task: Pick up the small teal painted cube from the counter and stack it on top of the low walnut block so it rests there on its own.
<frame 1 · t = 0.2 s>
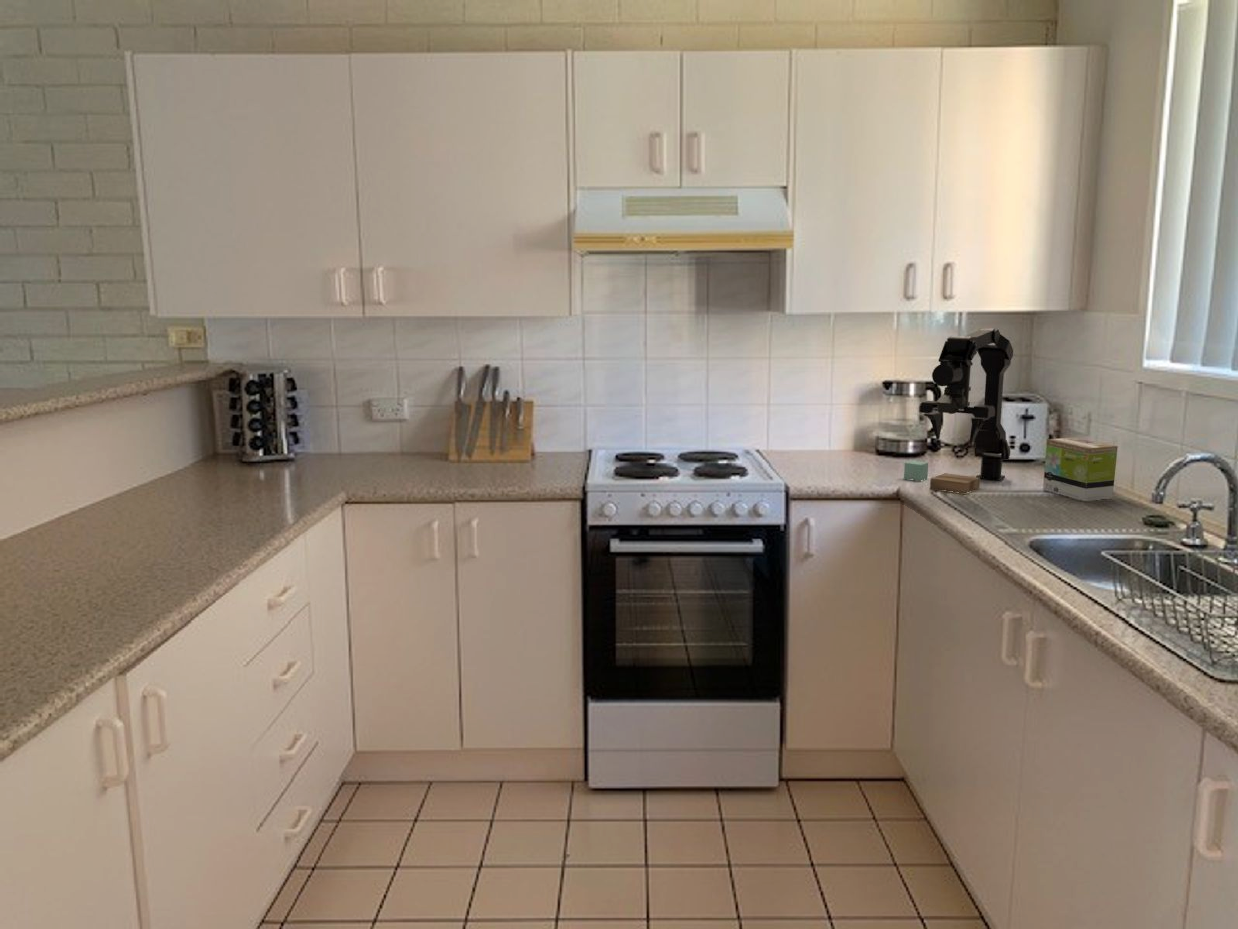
hand: (954, 440, 250), 14 cm above the worktop, tool pointing down, fingers open, 9 cm apart
tea box: (1076, 495, 250), on the worktop
teal cube: (915, 479, 271), on the worktop
walnut block: (954, 490, 258), on the worktop
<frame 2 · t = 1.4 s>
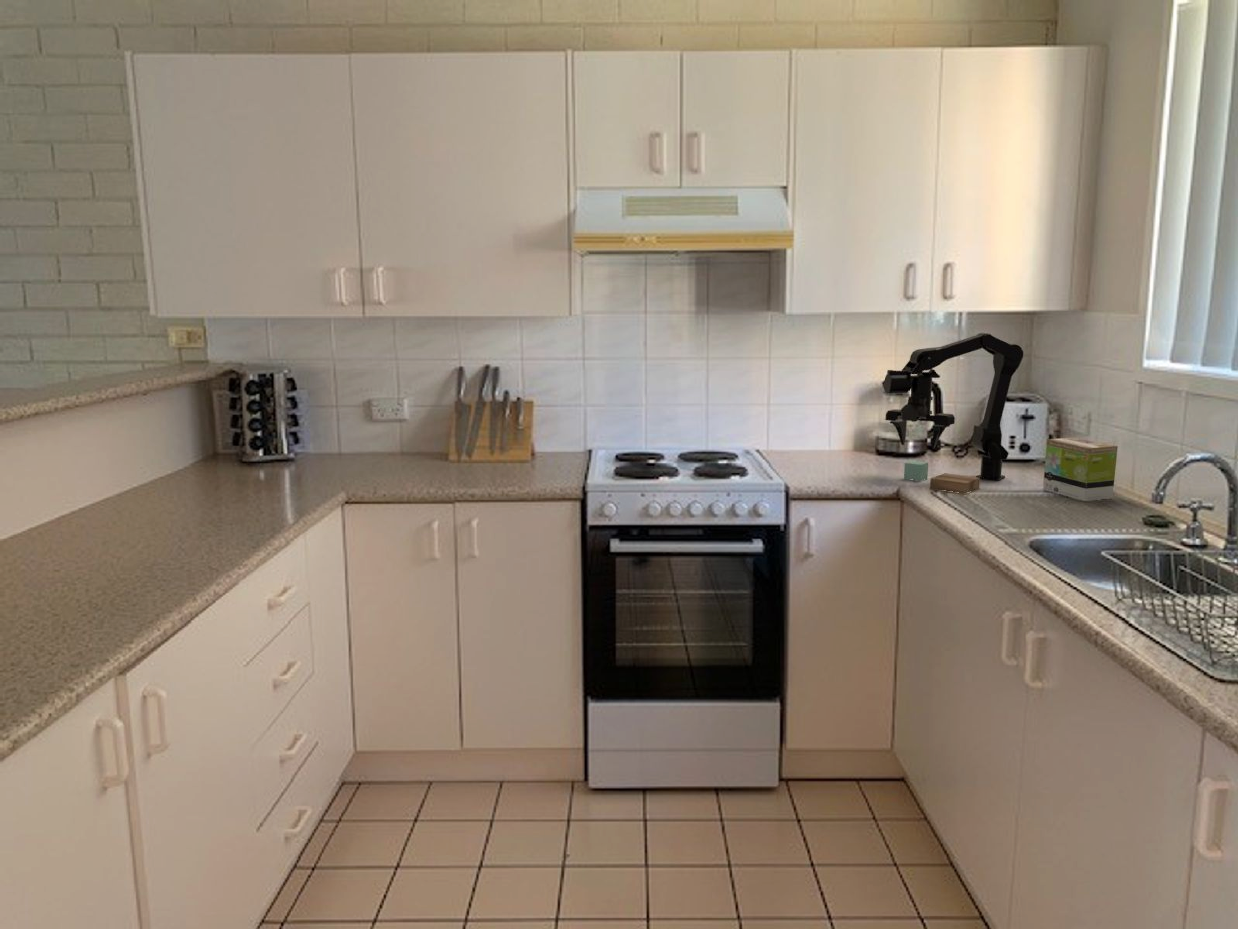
hand: (917, 446, 269), 10 cm above the worktop, tool pointing down, fingers open, 9 cm apart
nothing on the worktop moved.
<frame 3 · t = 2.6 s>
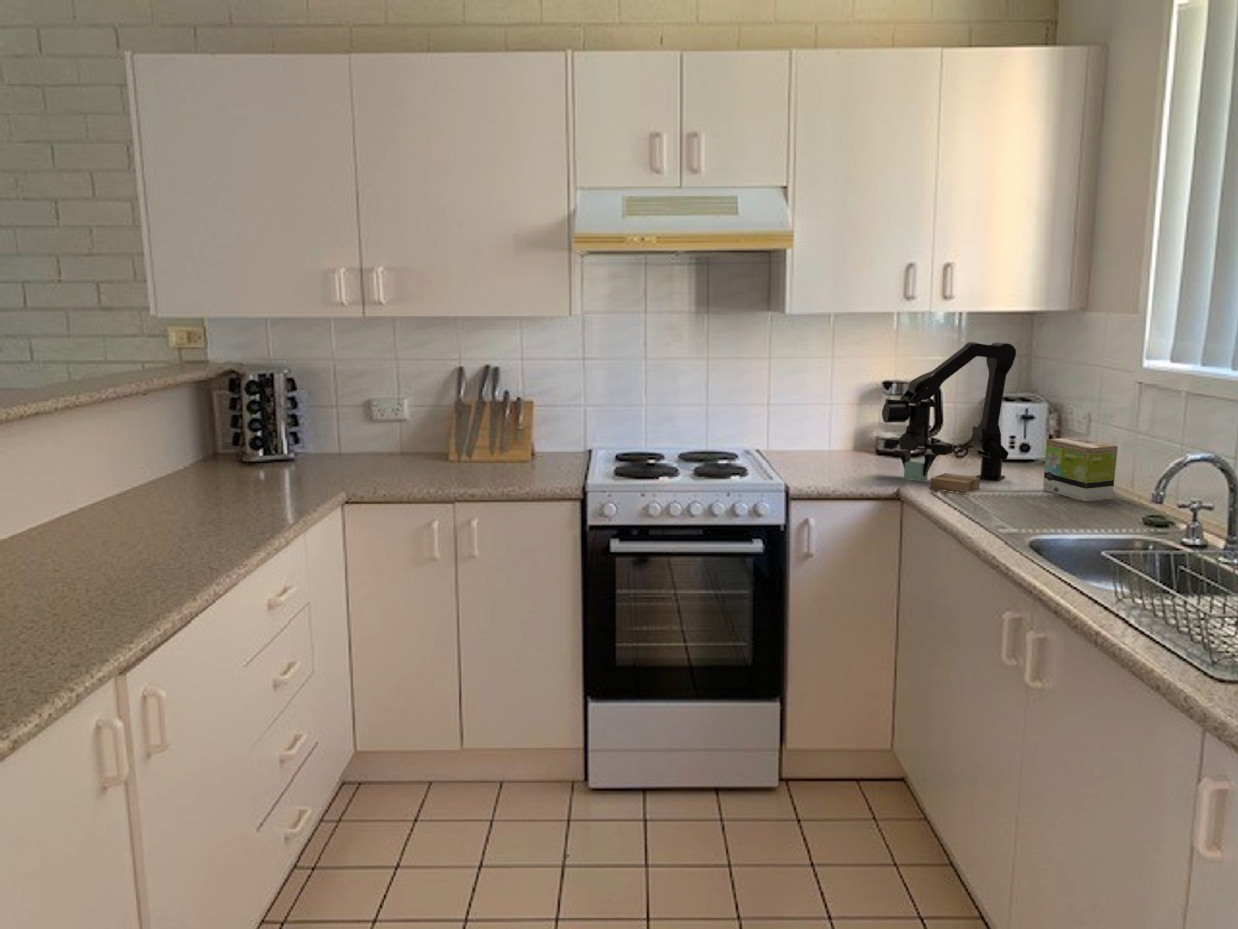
hand: (915, 474, 271), 1 cm above the worktop, tool pointing down, fingers closed on teal cube, 5 cm apart
teal cube: (915, 479, 271), on the worktop, touching gripper
everything else where it was.
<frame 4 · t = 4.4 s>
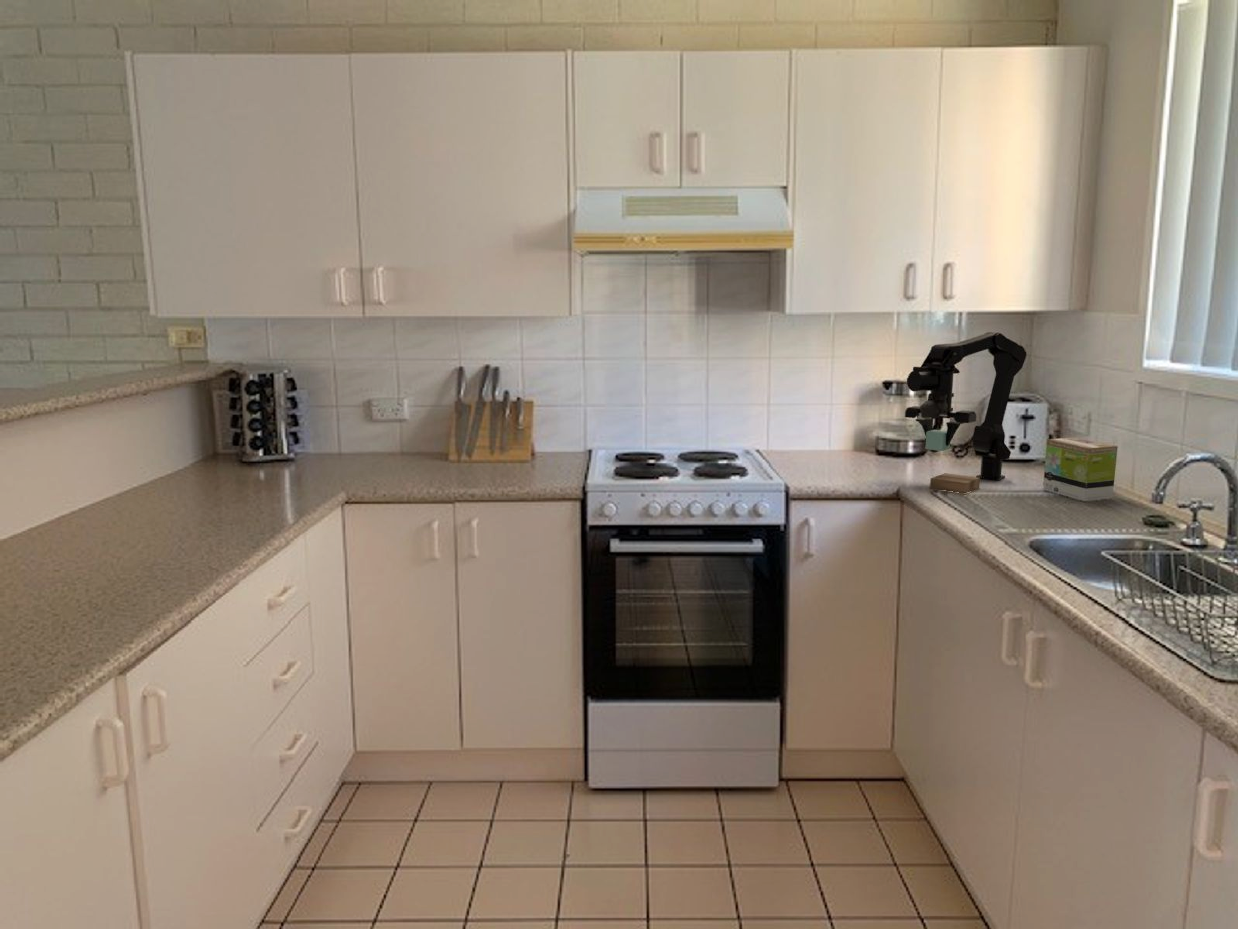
hand: (938, 444, 262), 11 cm above the worktop, tool pointing down, fingers closed on teal cube, 5 cm apart
teal cube: (937, 448, 262), point 10 cm above the worktop, touching gripper
everything else where it was.
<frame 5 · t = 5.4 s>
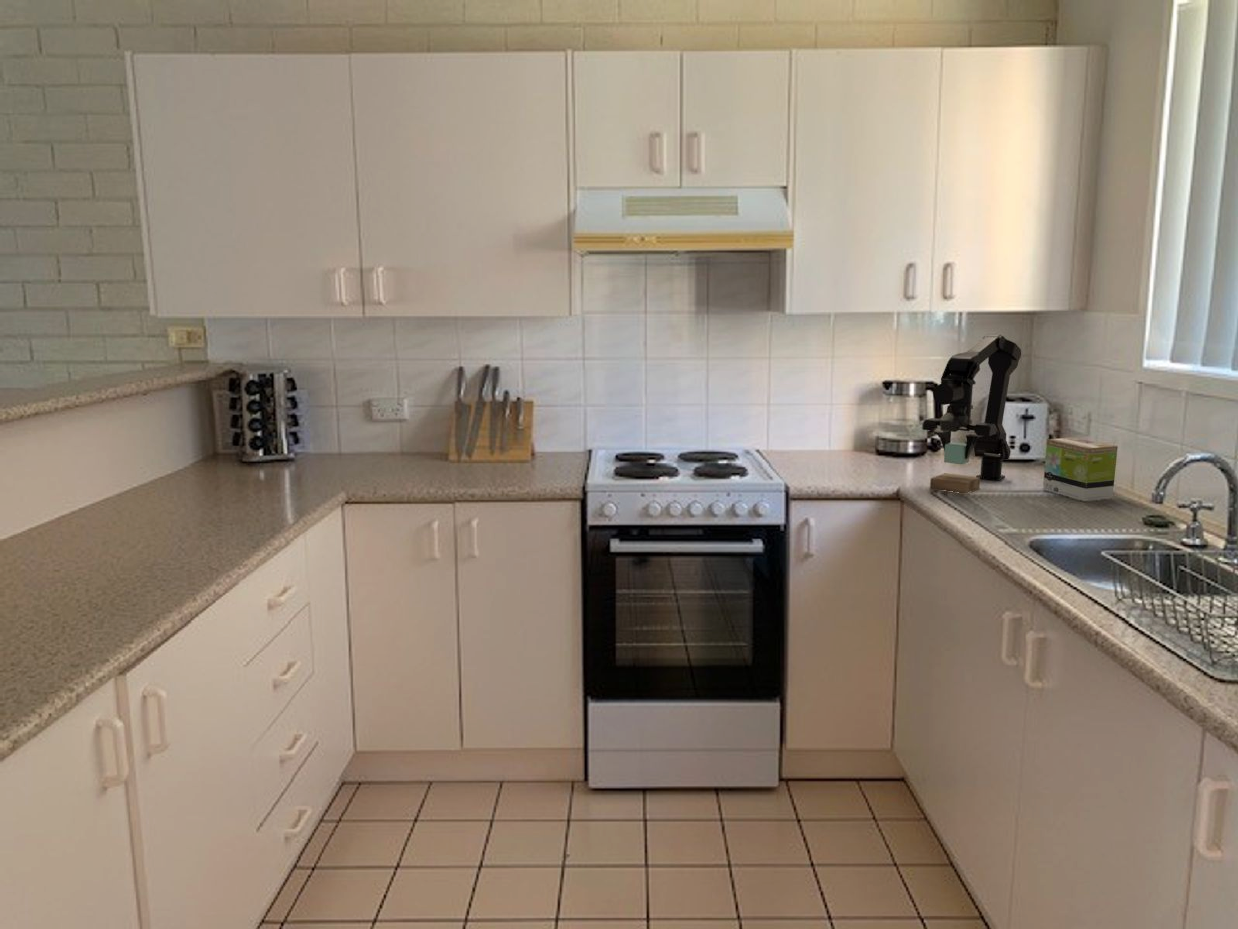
hand: (956, 457, 256), 9 cm above the worktop, tool pointing down, fingers closed on teal cube, 5 cm apart
teal cube: (956, 462, 256), point 8 cm above the worktop, touching gripper
everything else where it was.
when the fingers open (6 cm above the worktop, at t = 6.3 s): teal cube drops 2 cm, point 3 cm above the worktop.
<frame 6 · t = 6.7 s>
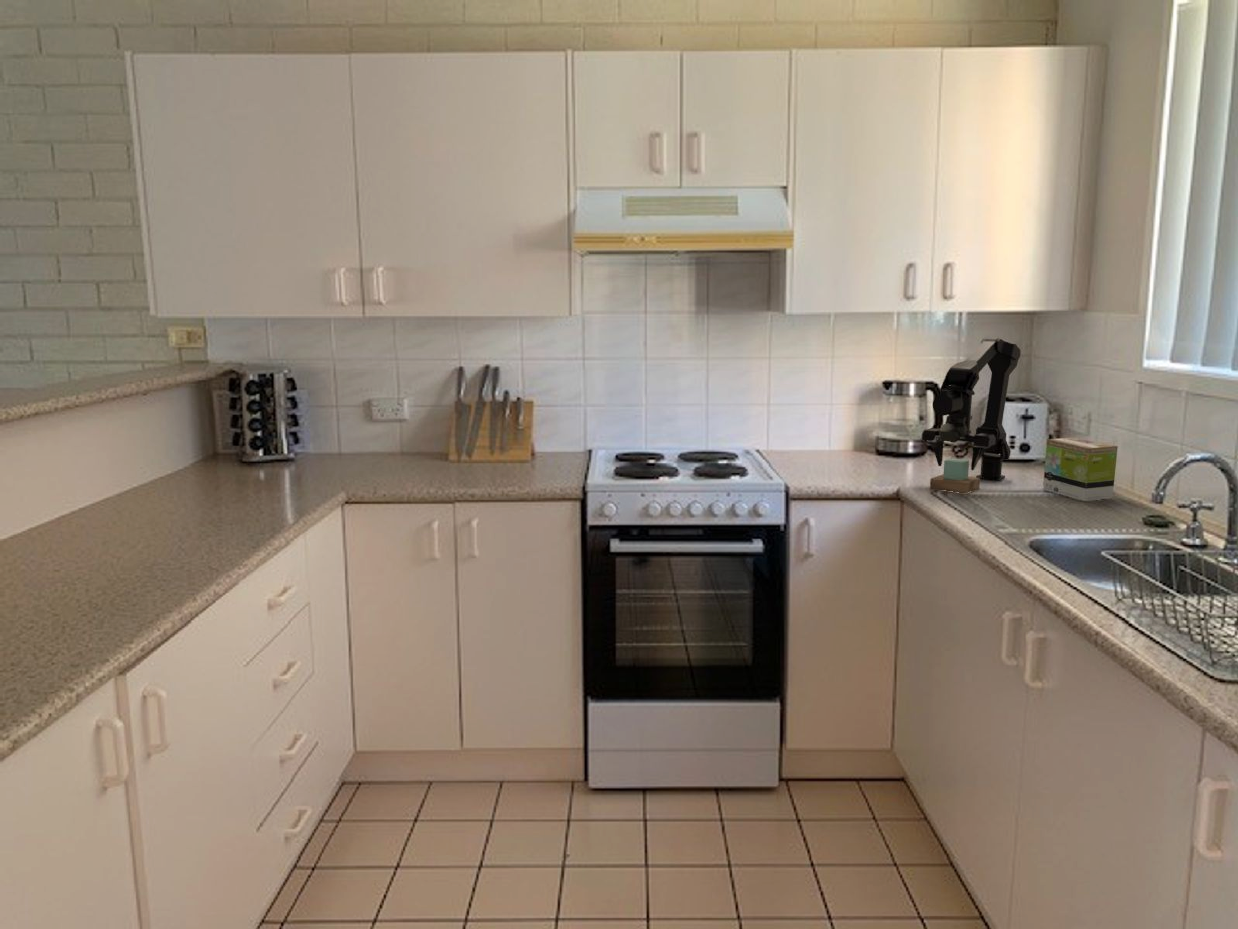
hand: (956, 468, 257), 6 cm above the worktop, tool pointing down, fingers open, 9 cm apart
teal cube: (955, 478, 257), point 3 cm above the worktop
everything else where it was.
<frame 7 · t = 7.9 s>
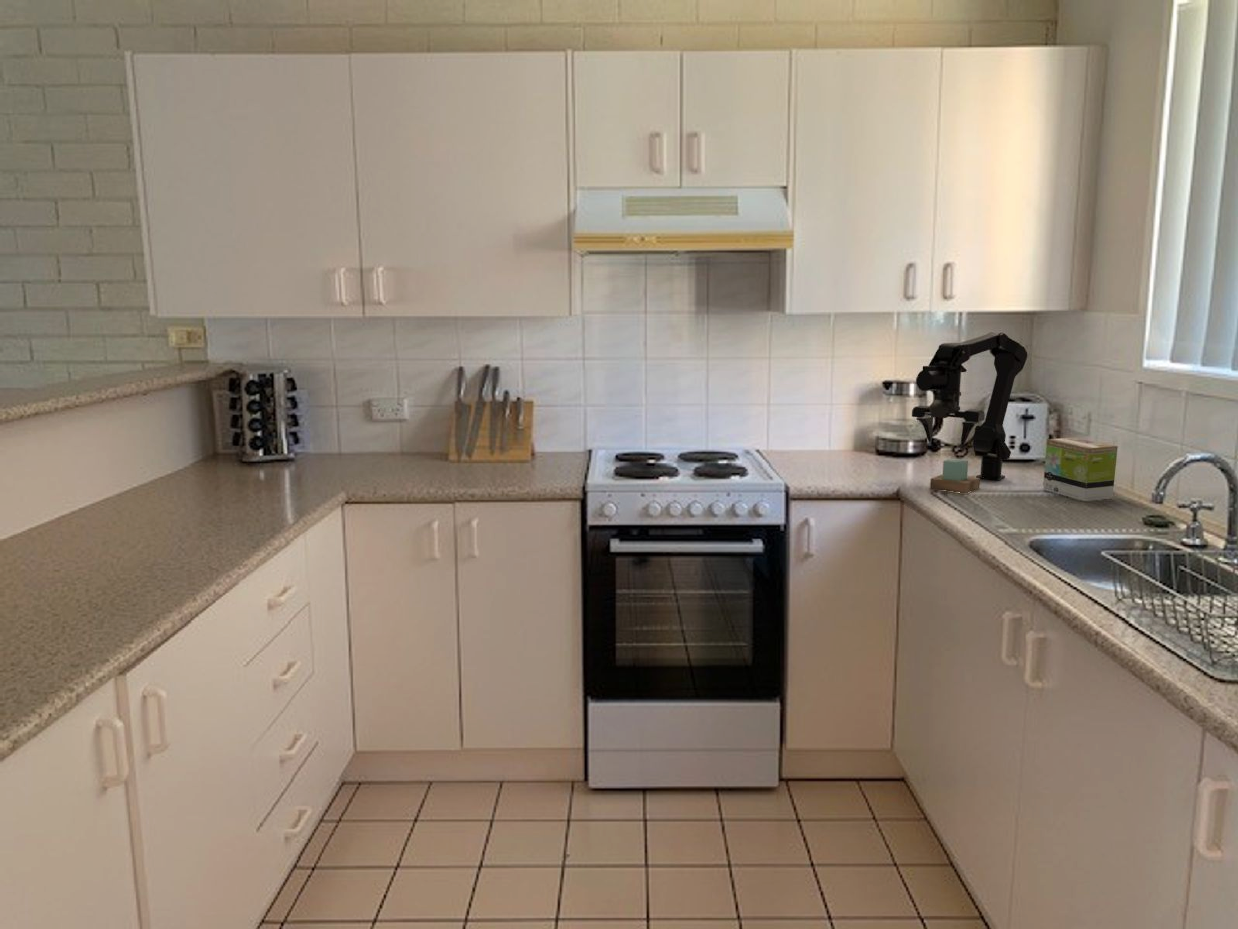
hand: (945, 443, 261), 12 cm above the worktop, tool pointing down, fingers open, 9 cm apart
teal cube: (954, 478, 257), point 3 cm above the worktop, touching walnut block
walnut block: (954, 490, 258), on the worktop, touching teal cube
everything else where it was.
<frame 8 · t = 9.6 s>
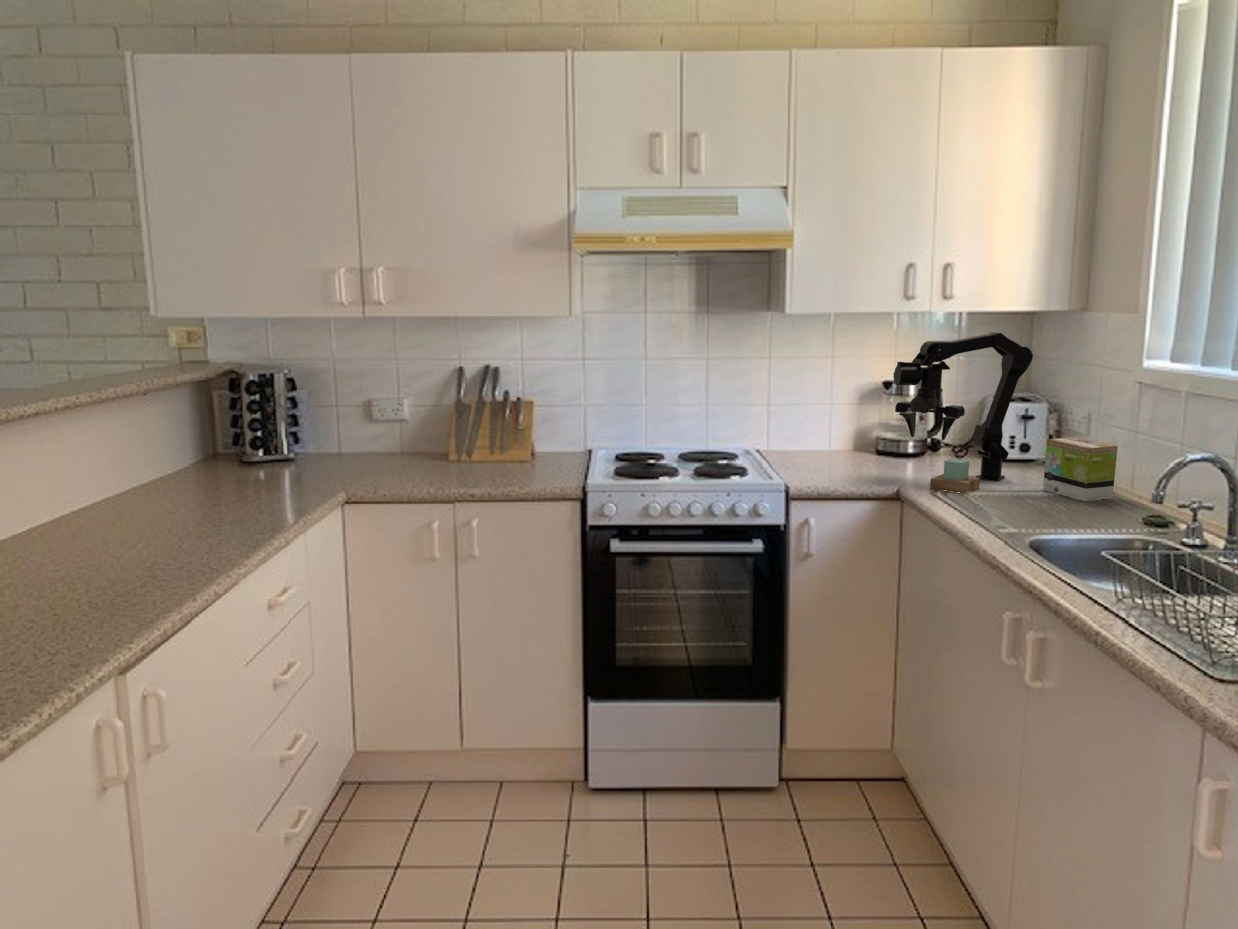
hand: (927, 438, 269), 12 cm above the worktop, tool pointing down, fingers open, 9 cm apart
teal cube: (955, 478, 257), point 3 cm above the worktop
walnut block: (954, 490, 258), on the worktop
everything else where it was.
at the end: teal cube inside the target area on the walnut block (0.4 cm from its centre), point 3.5 cm above the walnut block's base; teal cube touching walnut block; the gripper is holding nothing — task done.
